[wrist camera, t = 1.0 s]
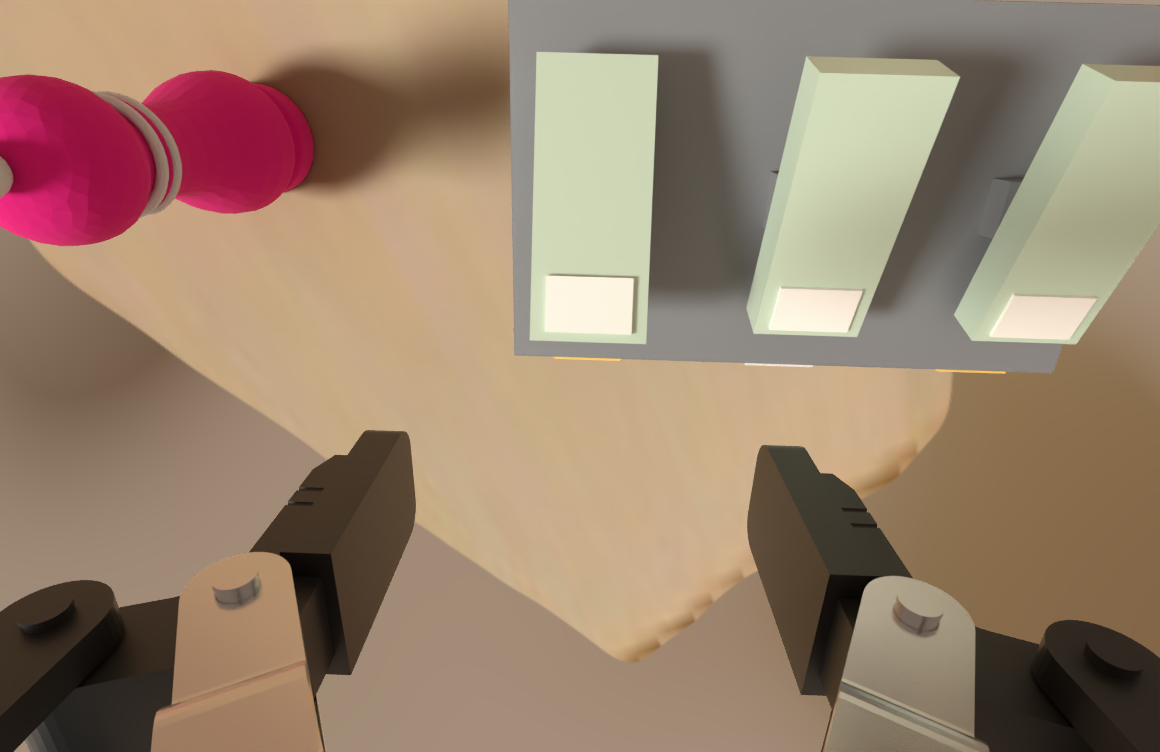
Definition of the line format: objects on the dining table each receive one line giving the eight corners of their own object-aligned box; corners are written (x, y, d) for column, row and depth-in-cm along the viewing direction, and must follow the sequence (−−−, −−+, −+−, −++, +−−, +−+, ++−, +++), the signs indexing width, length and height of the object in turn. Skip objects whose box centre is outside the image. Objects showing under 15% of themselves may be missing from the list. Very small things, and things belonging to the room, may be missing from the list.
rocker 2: (806, 56, 18) (821, 74, 17) (937, 59, 18) (962, 78, 17) (746, 308, 24) (754, 336, 23) (844, 311, 24) (858, 339, 23)
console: (544, 35, 35) (503, -19, 20) (937, 45, 35) (1215, 0, 19) (544, 267, 41) (511, 371, 25) (885, 277, 40) (1069, 389, 25)
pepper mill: (305, 67, 36) (6, 32, 18) (336, 195, 39) (106, 279, 21) (185, 80, 37) (-227, 59, 18) (224, 206, 39) (-98, 297, 21)
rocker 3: (1082, 64, 18) (1119, 82, 17) (1214, 67, 18) (1261, 86, 17) (954, 314, 24) (973, 343, 23) (1052, 318, 24) (1078, 346, 23)
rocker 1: (540, 71, 21) (536, 49, 19) (653, 74, 21) (659, 53, 19) (533, 338, 22) (529, 340, 20) (642, 342, 22) (646, 344, 20)
